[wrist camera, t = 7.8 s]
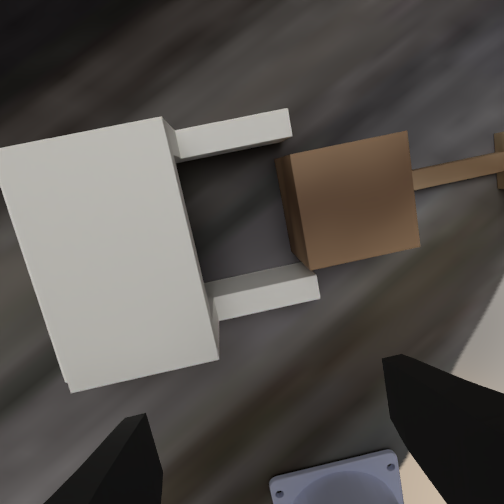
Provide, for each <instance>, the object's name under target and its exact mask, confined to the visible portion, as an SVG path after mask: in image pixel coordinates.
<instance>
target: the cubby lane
mask: <svg viewBox="0 0 504 504" xmlns="http://www.w3.org/2000/svg"><path fill="white" fill-rule="evenodd" d="M290 137H292V130H291V124H290V119H289V113H288V108H285V109H280V110H275V111H270V112H265V113H260V114H255V115H250V116H245V117H240V118H235V119H230V120H225V121H220V122H215V123H210V124H205V125H200V126H195V127H190V128H185V129H180V130H174V129H173V128H172V127H171V126H170V125H169V124H168V123H167V122H166V121H165V120H164V119H163V117H162V116H161V117H156V118H151V119H146V120H141V121H136V122H130V123H125V124H120V125H115V126H110V127H105V128H100V129H95V130H90V131H85V132H80V133H75V134H70V135H65V136H59V137H54V138H49V139H44V140H39V141H34V142H29V143H24V144H19V145H14V146H9V147H4V148H0V187H1V190H2V193H3V196H4V199H5V202H6V205H7V208H8V211H9V214H10V217H11V220H12V223H13V226H14V229H15V232H16V235H17V238H18V241H19V244H20V247H21V250H22V253H23V257H24V260H25V263H26V266H27V269H28V272H29V275H30V278H31V281H32V284H33V287H34V290H35V293H36V296H37V299H38V302H39V305H40V308H41V311H42V314H43V317H44V320H45V323H46V326H47V329H48V332H49V335H50V338H51V341H52V344H53V347H54V350H55V353H56V356H57V359H58V362H59V365H60V368H61V371H62V374H63V377H64V380H65V383H68V386H69V389H70V392H71V393H74V392H78V391H83V390H87V389H92V388H96V387H101V386H105V385H109V384H114V383H118V382H123V381H127V380H132V379H136V378H140V377H145V376H149V375H154V374H158V373H162V372H167V371H171V370H176V369H180V368H185V367H189V366H193V365H198V364H202V363H207V362H211V361H215V360H219V321H222V320H226V319H231V318H235V317H240V316H244V315H249V314H253V313H258V312H262V311H267V310H271V309H276V308H280V307H285V306H289V305H294V304H298V303H303V302H307V301H312V300H316V299H320V293H319V287H318V281H317V275H316V274H315V273H314V272H313V271H312V270H311V271H310V270H309V269H308V268H307V267H306V266H305V265H304V264H303V263H302V262H299V263H294V264H290V265H285V266H280V267H276V268H271V269H266V270H262V271H257V272H253V273H248V274H243V275H239V276H234V277H230V278H225V279H220V280H216V281H211V282H207V283H204V282H203V278H202V273H201V269H200V265H199V261H198V256H197V252H196V248H195V244H194V239H193V235H192V231H191V227H190V222H189V218H188V214H187V210H186V205H185V201H184V197H183V193H182V188H181V184H180V180H179V176H178V171H177V167H176V163H180V162H185V161H190V160H195V159H200V158H205V157H210V156H215V155H220V154H225V153H230V152H235V151H240V150H245V149H249V148H254V147H259V146H264V145H269V144H274V143H279V142H283V141H284V140H286V139H288V138H290Z"/></svg>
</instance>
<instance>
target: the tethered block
mask: <svg viewBox="0 0 504 504" xmlns="http://www.w3.org/2000/svg"><path fill="white" fill-rule="evenodd" d="M494 142H495V153H490V154H486V155H481V156H476V157H471V158H467V159H462V160H457V161H452V162H447V163H443V164H438V165H433V166H428V167H424V168H419V169H414V170H412V169H411V160H410V151H409V142H408V134H407V131H403V132H398V133H393V134H388V135H383V136H378V137H374V138H369V139H364V140H359V141H354V142H349V143H344V144H339V145H334V146H329V147H325V148H320V149H315V150H310V151H305V152H300V153H295V154H290V155H287V156H284V157H281V158H277V159H274V160H275V165H276V171H277V176H278V181H279V187H280V192H281V198H282V203H283V209H284V214H285V220H286V225H287V230H288V236H289V241H290V247H291V251H292V252H293V253H294V254H295V256H296V257H297V258H298V259H299V260H300V261H301V262H302V263H303V264H304V265H305V266H306V267H307V268H308V269H309V270H310V271H311V270H315V269H320V268H325V267H329V266H334V265H338V264H343V263H348V262H352V261H357V260H361V259H366V258H370V257H375V256H380V255H384V254H389V253H393V252H398V251H403V250H407V249H412V248H416V247H420V239H419V231H418V222H417V213H416V204H415V195H414V190H418V189H422V188H427V187H432V186H437V185H441V184H446V183H451V182H456V181H460V180H465V179H470V178H474V177H479V176H484V175H489V174H493V173H497V185H498V189H504V132H500V133H495V134H494Z"/></svg>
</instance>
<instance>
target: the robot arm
mask: <svg viewBox="0 0 504 504" xmlns="http://www.w3.org/2000/svg"><path fill="white" fill-rule="evenodd" d="M382 363H383V370H384V377H385V384H386V391H387V398H388V406H389V413H390V418H391V420H392V422H393V424H394V426H395V428H396V430H397V431H398V433H399V435H400V437H401V439H402V440H403V442H404V444H405V446H406V447H407V449H408V450H409V452H410V453H411V455H412V456H413V457H414V459H415V460H416V462H417V463H418V464H419V466H420V467H421V469H422V470H423V471H424V473H425V474H426V475H427V477H428V478H429V480H430V481H431V482H432V484H433V485H434V486H435V488H436V489H437V490H438V492H439V493H440V495H441V496H442V497H443V499H444V500H445V501H446V503H447V504H504V394H503V393H500V392H497V391H495V390H492V389H489V388H486V387H483V386H480V385H478V384H475V383H472V382H469V381H467V380H464V379H462V378H459V377H457V376H454V375H452V374H449V373H447V372H445V371H442V370H440V369H437V368H435V367H433V366H430V365H428V364H426V363H423V362H421V361H418V360H416V359H414V358H411V357H408V356H406V355H403V354H400V355H395V356H391V357H387V358H382ZM389 464H391V465H390V466H388V465H389ZM162 480H163V470H162V467H161V463H160V460H159V457H158V453H157V450H156V446H155V443H154V439H153V436H152V432H151V429H150V426H149V422H148V419H147V415H146V413H144V414H140V415H136V416H131V417H127V418H125V419H124V420H123V421H122V422H121V423H120V424H119V425H118V426H117V427H116V428H115V429H114V430H113V431H112V432H111V433H110V434H109V436H108V437H107V438H106V439H105V440H104V441H103V442H102V443H101V445H100V446H99V447H98V448H97V449H96V450H95V451H94V452H93V453H92V454H91V456H90V457H89V458H88V459H87V460H86V461H85V462H84V463H83V464H82V465H81V466H80V468H79V469H78V470H77V471H76V472H75V473H74V474H73V475H72V476H71V477H70V478H69V479H68V480H67V481H66V482H65V483H64V484H63V485H62V486H61V487H60V488H59V489H58V490H57V491H56V492H55V493H54V494H53V495H52V496H51V497H50V498H49V499H48V500H47V501H46V502H45V503H44V504H161V495H162ZM269 486H270V492H271V496H272V500H273V504H404V502H403V494H402V487H401V480H400V473H399V466H398V459H397V456H396V454H395V453H394V451H392V450H390V449H387V450H382V451H378V452H374V453H370V454H366V455H362V456H358V457H353V458H349V459H345V460H341V461H337V462H333V463H329V464H324V465H320V466H316V467H312V468H308V469H304V470H299V471H295V472H291V473H287V474H283V475H279V476H275V477H273V478H272V479H271V480H270V482H269ZM277 491H282V492H280V493H276V492H277Z"/></svg>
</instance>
